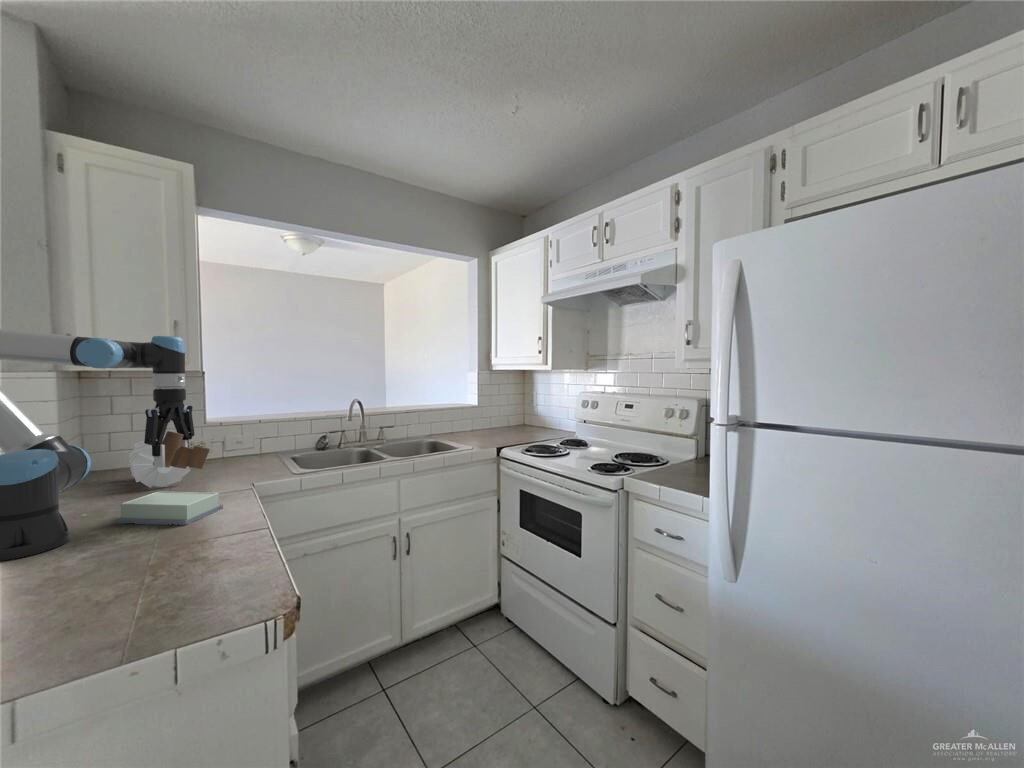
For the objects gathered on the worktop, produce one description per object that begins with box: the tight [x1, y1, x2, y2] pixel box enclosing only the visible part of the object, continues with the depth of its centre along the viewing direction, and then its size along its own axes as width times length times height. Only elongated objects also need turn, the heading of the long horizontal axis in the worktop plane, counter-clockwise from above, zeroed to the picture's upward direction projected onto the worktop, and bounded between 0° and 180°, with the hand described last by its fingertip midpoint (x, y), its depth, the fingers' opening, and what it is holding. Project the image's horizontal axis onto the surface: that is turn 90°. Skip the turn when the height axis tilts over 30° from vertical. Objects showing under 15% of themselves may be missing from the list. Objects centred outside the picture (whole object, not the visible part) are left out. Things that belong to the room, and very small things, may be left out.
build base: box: [115, 491, 224, 526], centre depth 124 cm, size 14×21×5 cm, turn 87°
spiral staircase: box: [127, 434, 191, 489], centre depth 160 cm, size 18×18×25 cm
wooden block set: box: [153, 430, 210, 470], centre depth 125 cm, size 18×9×10 cm, turn 67°
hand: (171, 463), depth 124 cm, fingers closed on wooden block set, 7 cm apart
